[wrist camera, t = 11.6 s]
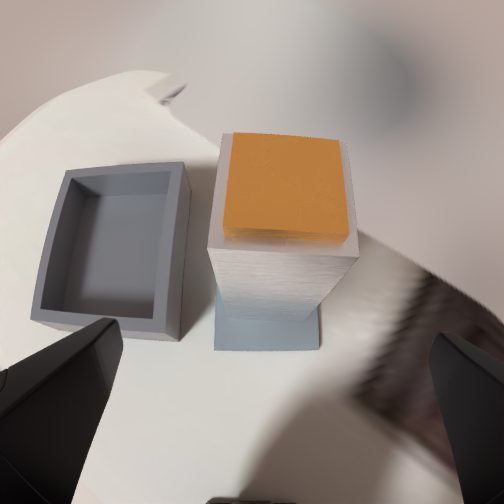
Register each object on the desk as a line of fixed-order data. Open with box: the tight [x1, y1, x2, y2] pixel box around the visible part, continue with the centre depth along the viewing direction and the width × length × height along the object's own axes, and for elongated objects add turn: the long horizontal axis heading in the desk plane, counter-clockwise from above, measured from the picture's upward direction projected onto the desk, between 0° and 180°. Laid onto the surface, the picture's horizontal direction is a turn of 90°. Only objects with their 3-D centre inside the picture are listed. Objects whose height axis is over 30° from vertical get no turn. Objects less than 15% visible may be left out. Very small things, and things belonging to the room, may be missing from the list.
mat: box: [214, 281, 319, 351], centre depth 23 cm, size 9×7×1 cm
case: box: [30, 162, 191, 342], centre depth 22 cm, size 12×10×4 cm
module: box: [207, 133, 359, 322], centre depth 17 cm, size 5×5×13 cm
